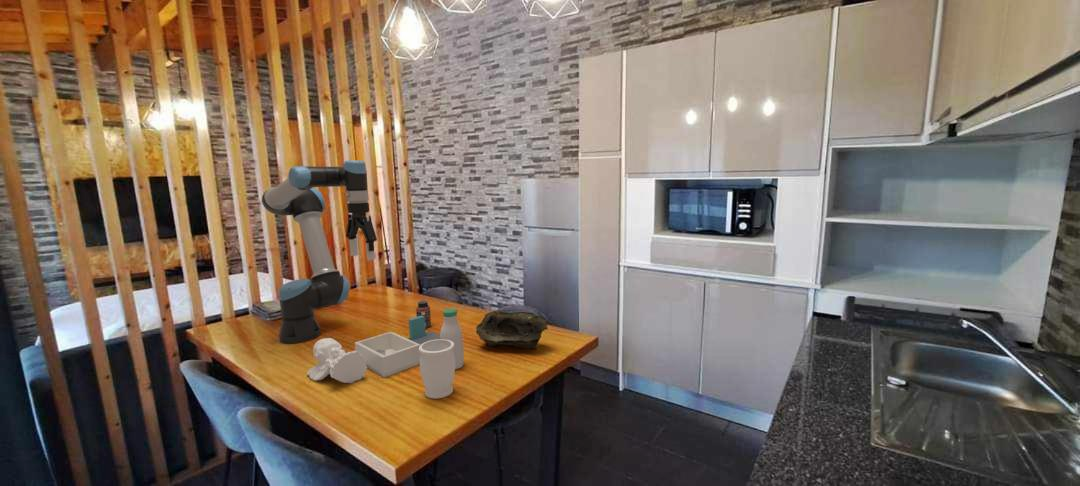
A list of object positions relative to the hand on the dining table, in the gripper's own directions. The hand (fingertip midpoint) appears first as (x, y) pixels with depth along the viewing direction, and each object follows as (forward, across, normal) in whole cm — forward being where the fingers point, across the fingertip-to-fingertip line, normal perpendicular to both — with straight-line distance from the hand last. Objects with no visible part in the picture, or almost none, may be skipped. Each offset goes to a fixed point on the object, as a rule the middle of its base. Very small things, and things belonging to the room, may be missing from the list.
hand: (362, 257), depth 164 cm
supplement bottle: (+35, 0, +25) cm, 43 cm away
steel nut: (+34, +18, -6) cm, 39 cm away
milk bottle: (+35, +42, +9) cm, 55 cm away
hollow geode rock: (+35, +46, +34) cm, 67 cm away
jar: (+35, +54, -5) cm, 64 cm away
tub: (+35, +22, -4) cm, 41 cm away
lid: (+34, +21, +14) cm, 43 cm away
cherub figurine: (+35, +18, -21) cm, 45 cm away
